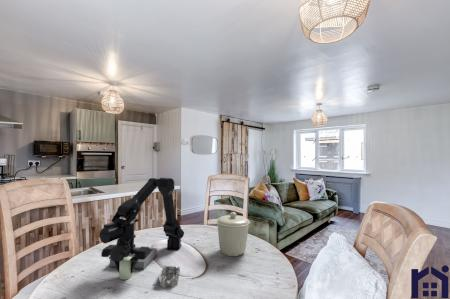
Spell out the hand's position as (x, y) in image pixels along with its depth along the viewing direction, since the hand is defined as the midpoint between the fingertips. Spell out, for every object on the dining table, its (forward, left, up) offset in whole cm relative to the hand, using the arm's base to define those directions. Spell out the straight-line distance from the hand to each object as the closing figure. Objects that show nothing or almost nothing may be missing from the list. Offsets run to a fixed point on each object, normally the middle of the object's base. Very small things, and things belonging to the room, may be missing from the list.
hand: (125, 272), depth 91 cm
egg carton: (-19, 0, -2) cm, 19 cm away
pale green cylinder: (0, 0, -2) cm, 2 cm away
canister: (-43, -29, -2) cm, 52 cm away
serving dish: (+3, -13, -2) cm, 13 cm away
